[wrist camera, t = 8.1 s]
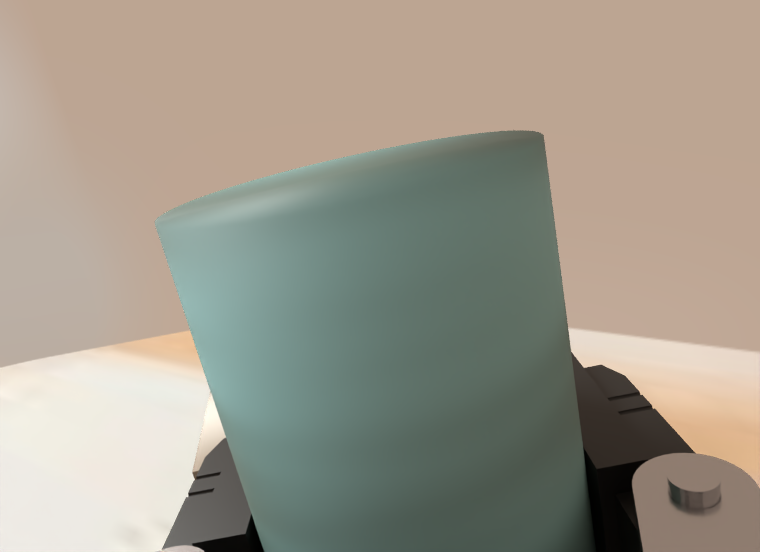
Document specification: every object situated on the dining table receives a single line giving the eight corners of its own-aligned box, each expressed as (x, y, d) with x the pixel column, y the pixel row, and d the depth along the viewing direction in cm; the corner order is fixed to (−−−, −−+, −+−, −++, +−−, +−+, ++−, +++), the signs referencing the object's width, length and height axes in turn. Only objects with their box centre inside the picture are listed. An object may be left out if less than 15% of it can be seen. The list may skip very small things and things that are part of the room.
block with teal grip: (724, 1003, 9) (666, 126, 5) (404, 1145, 8) (63, 273, 4) (434, 442, 24) (366, 123, 20) (316, 477, 23) (223, 155, 20)
